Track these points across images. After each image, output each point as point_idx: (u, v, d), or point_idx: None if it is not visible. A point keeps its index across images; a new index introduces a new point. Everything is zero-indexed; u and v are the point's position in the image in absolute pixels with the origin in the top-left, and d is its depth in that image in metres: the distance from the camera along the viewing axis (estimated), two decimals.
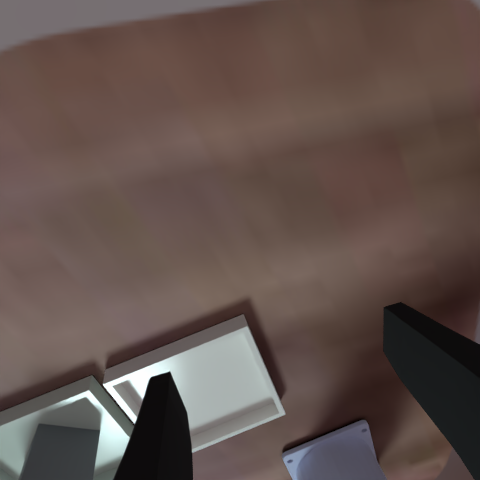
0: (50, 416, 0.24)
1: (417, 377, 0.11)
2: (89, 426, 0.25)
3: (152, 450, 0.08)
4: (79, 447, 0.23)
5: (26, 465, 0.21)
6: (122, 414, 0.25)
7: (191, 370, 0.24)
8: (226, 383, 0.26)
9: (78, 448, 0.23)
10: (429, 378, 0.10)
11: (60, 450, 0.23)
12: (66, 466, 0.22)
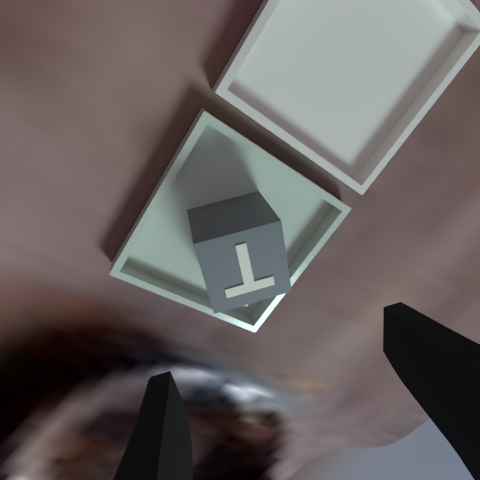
0: (192, 193, 0.19)
1: (417, 377, 0.11)
2: (243, 190, 0.19)
3: (152, 450, 0.08)
4: (243, 206, 0.18)
5: (192, 232, 0.17)
6: None
7: (318, 30, 0.16)
8: (377, 30, 0.17)
9: (242, 206, 0.18)
10: (429, 378, 0.10)
11: (223, 213, 0.18)
12: (238, 218, 0.17)
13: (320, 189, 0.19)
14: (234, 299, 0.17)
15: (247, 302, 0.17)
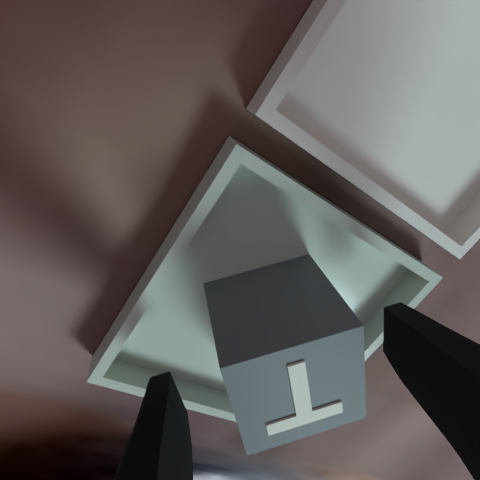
0: (212, 261, 0.12)
1: (417, 377, 0.11)
2: (287, 253, 0.13)
3: (152, 450, 0.08)
4: (291, 283, 0.12)
5: (215, 336, 0.10)
6: None
7: (421, 12, 0.10)
8: None
9: (290, 285, 0.12)
10: (429, 378, 0.10)
11: (260, 298, 0.11)
12: (287, 311, 0.11)
13: (402, 253, 0.13)
14: (279, 435, 0.11)
15: (298, 437, 0.11)
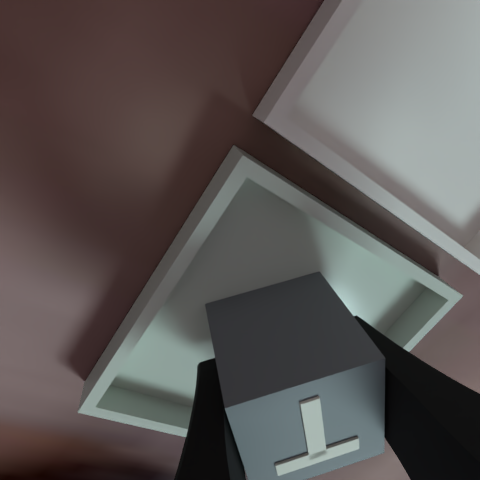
0: (215, 280, 0.11)
1: None
2: (295, 271, 0.12)
3: (216, 430, 0.08)
4: (301, 306, 0.11)
5: (219, 367, 0.09)
6: (343, 215, 0.11)
7: (446, 8, 0.09)
8: None
9: (300, 307, 0.11)
10: None
11: (268, 323, 0.10)
12: (299, 339, 0.10)
13: (421, 271, 0.12)
14: (289, 474, 0.10)
15: (310, 475, 0.10)
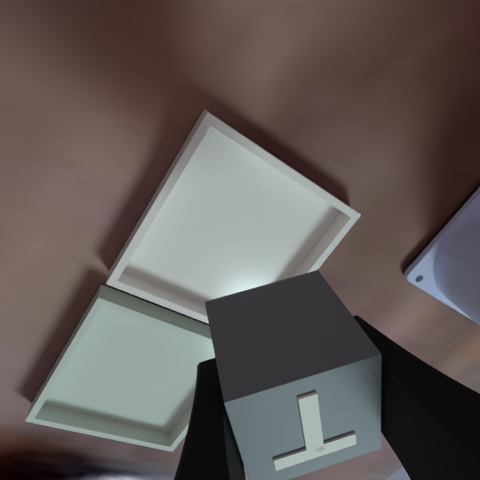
0: (101, 348, 0.21)
1: None
2: (149, 341, 0.21)
3: (216, 429, 0.08)
4: (299, 303, 0.11)
5: (219, 363, 0.09)
6: (171, 313, 0.21)
7: (202, 222, 0.18)
8: (258, 217, 0.19)
9: (298, 304, 0.11)
10: None
11: (267, 320, 0.11)
12: (297, 336, 0.10)
13: None
14: (288, 469, 0.10)
15: (308, 470, 0.10)
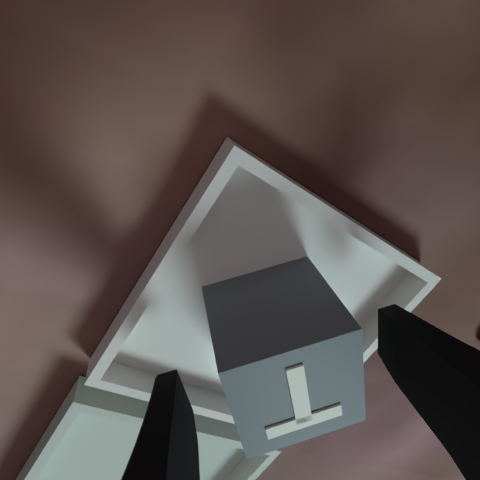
0: (82, 452, 0.15)
1: (411, 379, 0.11)
2: None
3: (161, 447, 0.08)
4: (289, 286, 0.12)
5: (214, 340, 0.10)
6: None
7: None
8: None
9: (288, 287, 0.12)
10: (422, 380, 0.10)
11: (258, 301, 0.11)
12: (286, 315, 0.11)
13: (239, 442, 0.16)
14: (279, 438, 0.11)
15: (298, 440, 0.11)
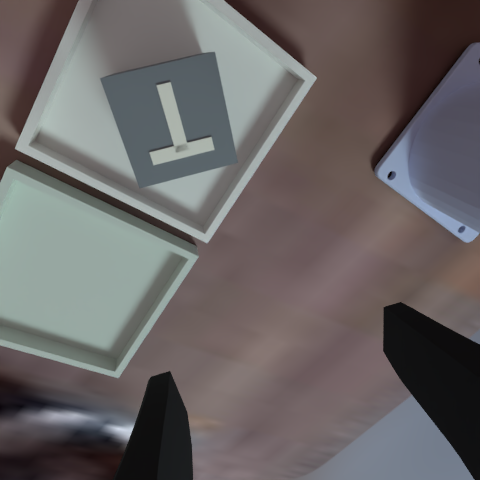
0: (24, 244, 0.18)
1: (417, 377, 0.11)
2: (81, 239, 0.18)
3: (152, 450, 0.08)
4: None
5: (106, 76, 0.13)
6: (104, 203, 0.18)
7: None
8: None
9: (176, 59, 0.14)
10: (429, 378, 0.10)
11: (150, 65, 0.14)
12: (166, 62, 0.13)
13: (159, 238, 0.18)
14: (164, 168, 0.14)
15: (181, 174, 0.14)
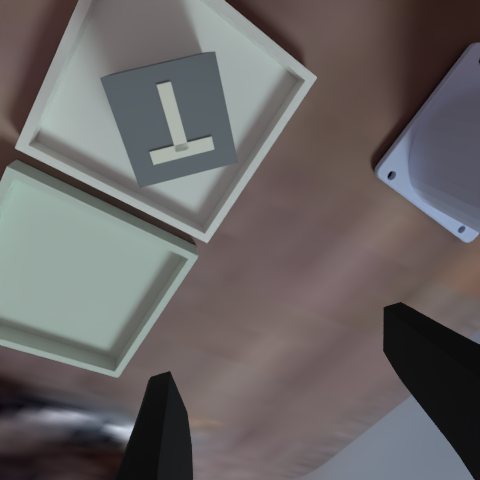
0: (24, 243, 0.18)
1: (417, 377, 0.11)
2: (81, 238, 0.18)
3: (152, 450, 0.08)
4: (178, 58, 0.14)
5: (106, 76, 0.13)
6: (104, 202, 0.18)
7: None
8: None
9: None
10: (429, 378, 0.10)
11: (150, 65, 0.14)
12: None
13: (158, 238, 0.18)
14: (164, 168, 0.14)
15: (181, 174, 0.14)
